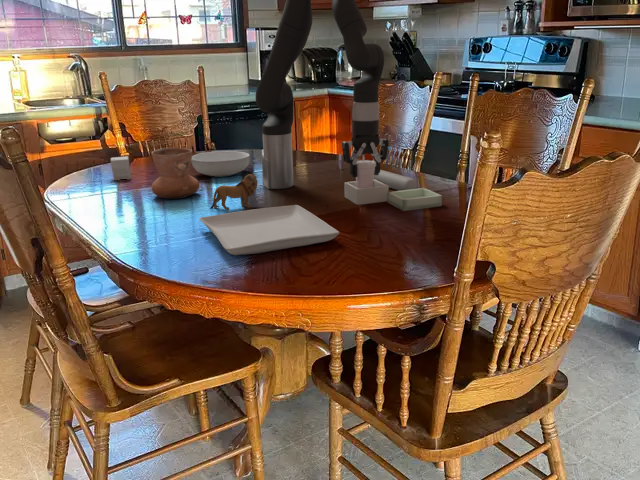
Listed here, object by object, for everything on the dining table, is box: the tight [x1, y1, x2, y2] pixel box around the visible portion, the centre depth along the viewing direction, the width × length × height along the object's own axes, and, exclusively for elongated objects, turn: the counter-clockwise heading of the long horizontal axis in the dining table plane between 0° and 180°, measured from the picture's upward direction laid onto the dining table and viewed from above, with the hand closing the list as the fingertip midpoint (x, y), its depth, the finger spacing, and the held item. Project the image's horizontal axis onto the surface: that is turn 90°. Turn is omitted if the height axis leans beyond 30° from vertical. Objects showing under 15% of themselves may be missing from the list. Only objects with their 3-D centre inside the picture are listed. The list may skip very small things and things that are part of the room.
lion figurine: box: [209, 173, 258, 210], centre depth 169 cm, size 15×5×9 cm, turn 117°
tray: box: [386, 187, 443, 212], centre depth 168 cm, size 12×10×3 cm
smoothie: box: [356, 154, 376, 189], centre depth 172 cm, size 6×6×14 cm
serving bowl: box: [191, 150, 251, 178], centre depth 212 cm, size 21×21×7 cm
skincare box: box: [110, 155, 132, 181], centre depth 210 cm, size 6×6×7 cm
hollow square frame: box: [344, 179, 390, 206], centre depth 174 cm, size 10×10×4 cm
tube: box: [373, 169, 418, 191], centre depth 189 cm, size 5×5×25 cm
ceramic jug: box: [151, 147, 200, 200], centre depth 183 cm, size 18×14×14 cm
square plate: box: [199, 204, 340, 256], centre depth 144 cm, size 27×27×4 cm
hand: (365, 175), depth 173 cm, fingers closed on smoothie, 6 cm apart
